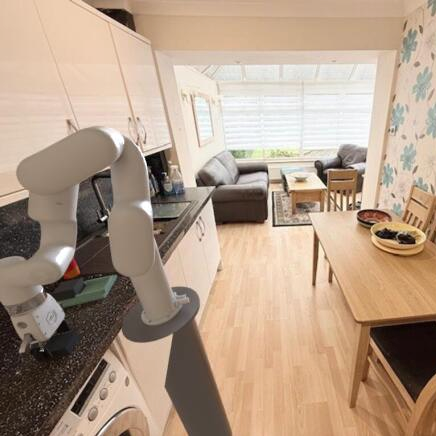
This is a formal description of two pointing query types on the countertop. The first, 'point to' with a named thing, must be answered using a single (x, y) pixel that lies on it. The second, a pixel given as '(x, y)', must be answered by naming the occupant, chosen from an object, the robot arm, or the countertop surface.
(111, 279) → the base board
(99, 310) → the countertop surface
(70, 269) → the paper cup
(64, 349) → the black pad
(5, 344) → the countertop surface
